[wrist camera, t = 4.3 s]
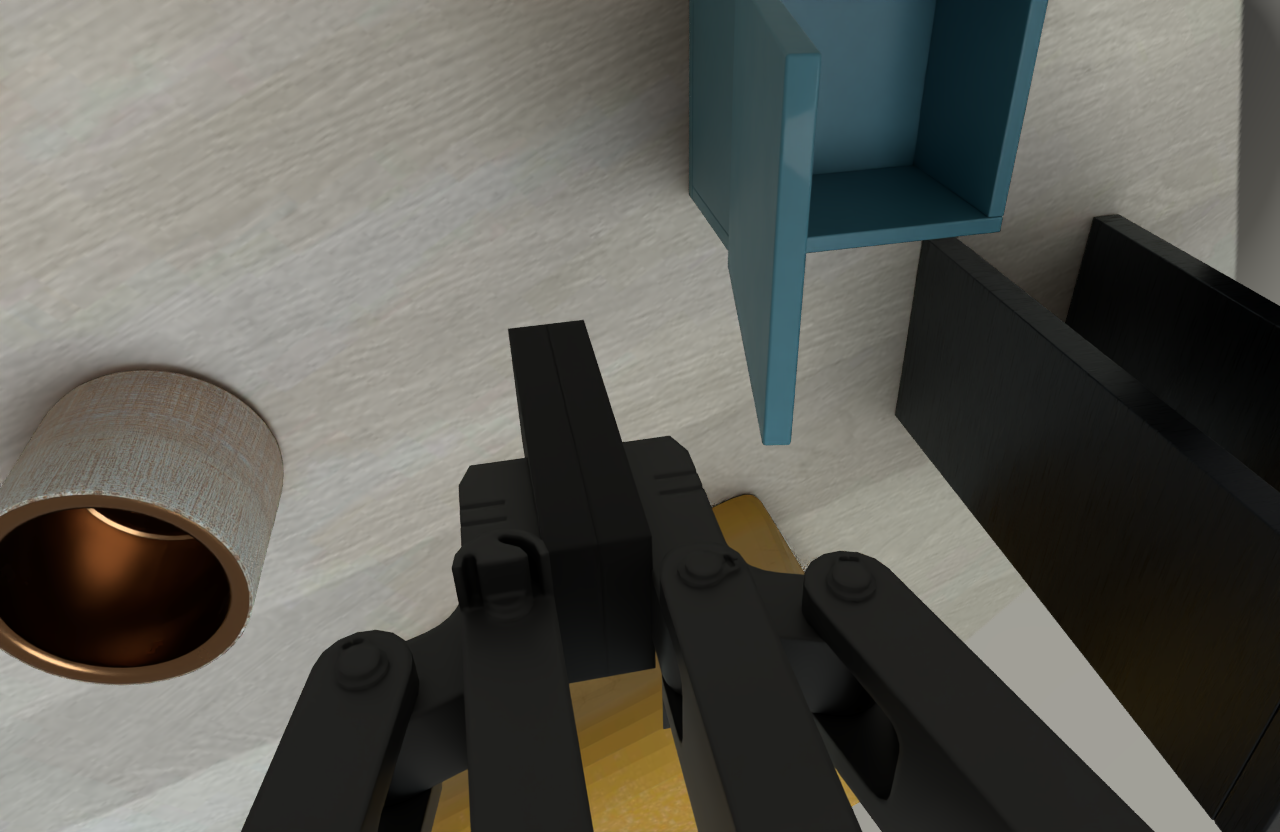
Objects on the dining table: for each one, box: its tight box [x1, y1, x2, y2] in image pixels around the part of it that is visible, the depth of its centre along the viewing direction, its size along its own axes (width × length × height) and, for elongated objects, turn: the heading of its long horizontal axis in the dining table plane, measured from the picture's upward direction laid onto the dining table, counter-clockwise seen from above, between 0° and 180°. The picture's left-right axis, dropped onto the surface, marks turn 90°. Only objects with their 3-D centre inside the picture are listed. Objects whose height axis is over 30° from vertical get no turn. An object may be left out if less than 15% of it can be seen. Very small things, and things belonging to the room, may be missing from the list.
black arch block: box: [895, 215, 1280, 832], centre depth 38 cm, size 11×11×27 cm
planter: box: [0, 370, 283, 685], centre depth 40 cm, size 11×11×10 cm
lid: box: [728, 0, 822, 445], centre depth 27 cm, size 12×10×1 cm
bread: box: [431, 495, 860, 832], centre depth 51 cm, size 24×13×15 cm, turn 118°
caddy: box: [689, 0, 1048, 253], centre depth 36 cm, size 11×10×8 cm
